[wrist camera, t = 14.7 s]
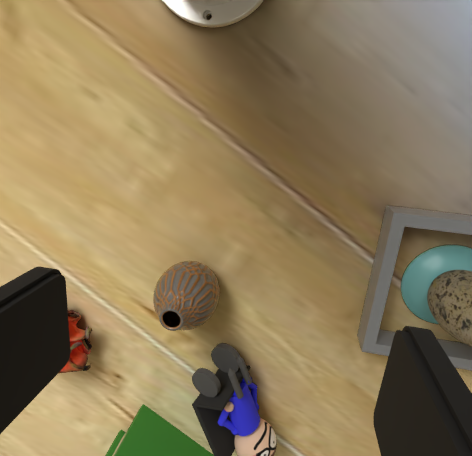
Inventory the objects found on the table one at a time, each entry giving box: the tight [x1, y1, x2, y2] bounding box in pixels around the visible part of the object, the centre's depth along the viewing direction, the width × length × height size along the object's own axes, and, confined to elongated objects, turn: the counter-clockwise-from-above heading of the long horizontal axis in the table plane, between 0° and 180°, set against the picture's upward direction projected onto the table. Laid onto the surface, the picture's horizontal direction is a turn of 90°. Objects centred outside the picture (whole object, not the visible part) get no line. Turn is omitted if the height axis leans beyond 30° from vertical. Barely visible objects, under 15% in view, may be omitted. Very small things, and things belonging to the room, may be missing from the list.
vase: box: [154, 261, 220, 331], centre depth 37 cm, size 7×7×9 cm
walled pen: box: [357, 205, 472, 371], centre depth 35 cm, size 15×15×3 cm
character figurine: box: [192, 343, 277, 456], centre depth 41 cm, size 8×7×15 cm
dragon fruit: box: [59, 310, 92, 373], centre depth 43 cm, size 8×8×12 cm
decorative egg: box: [427, 270, 472, 347], centre depth 32 cm, size 6×6×10 cm
